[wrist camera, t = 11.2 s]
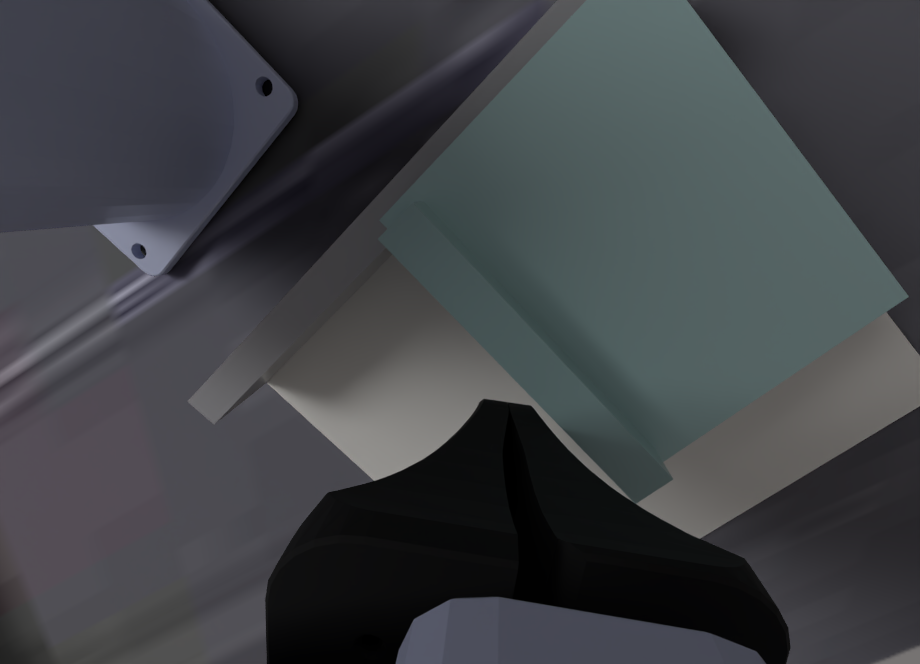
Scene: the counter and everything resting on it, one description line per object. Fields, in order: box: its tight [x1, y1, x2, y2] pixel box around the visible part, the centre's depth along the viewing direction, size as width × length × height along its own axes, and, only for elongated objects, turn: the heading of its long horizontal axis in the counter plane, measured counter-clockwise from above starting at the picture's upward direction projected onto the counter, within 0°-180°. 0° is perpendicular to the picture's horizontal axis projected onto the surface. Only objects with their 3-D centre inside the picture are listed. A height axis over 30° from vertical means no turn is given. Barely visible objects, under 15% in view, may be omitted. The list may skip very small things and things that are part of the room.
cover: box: [378, 0, 909, 504], centre depth 9 cm, size 9×7×2 cm
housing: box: [188, 0, 920, 539], centre depth 14 cm, size 16×16×4 cm
